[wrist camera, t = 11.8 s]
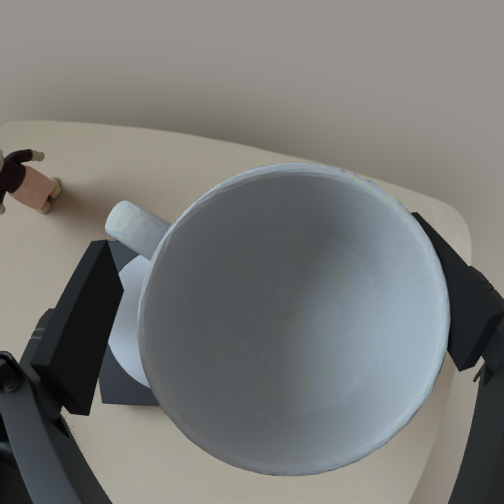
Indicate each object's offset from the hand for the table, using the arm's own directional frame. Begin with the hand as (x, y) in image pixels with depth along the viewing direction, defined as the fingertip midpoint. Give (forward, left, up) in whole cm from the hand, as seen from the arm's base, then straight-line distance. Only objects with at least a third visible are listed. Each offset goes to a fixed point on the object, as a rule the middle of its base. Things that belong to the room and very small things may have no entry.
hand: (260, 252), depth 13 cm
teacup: (0, +2, -5) cm, 5 cm away
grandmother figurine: (+23, -12, -17) cm, 31 cm away
